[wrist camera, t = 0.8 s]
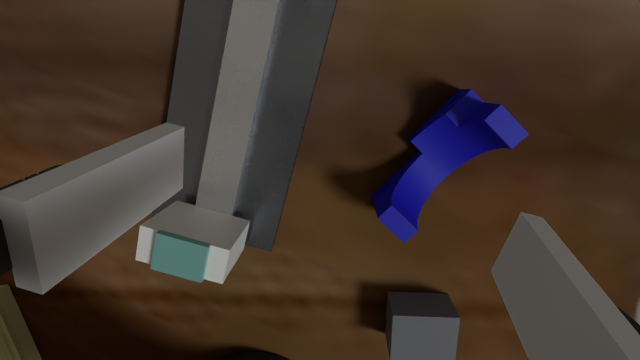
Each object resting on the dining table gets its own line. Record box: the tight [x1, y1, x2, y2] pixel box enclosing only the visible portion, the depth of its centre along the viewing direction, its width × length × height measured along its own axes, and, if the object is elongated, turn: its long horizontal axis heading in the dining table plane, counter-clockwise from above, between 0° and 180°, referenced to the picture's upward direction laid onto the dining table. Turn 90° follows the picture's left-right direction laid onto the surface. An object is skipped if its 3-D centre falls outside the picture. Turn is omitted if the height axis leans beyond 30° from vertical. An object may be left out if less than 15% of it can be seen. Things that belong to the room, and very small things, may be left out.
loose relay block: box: [385, 292, 460, 360], centre depth 34 cm, size 5×6×4 cm
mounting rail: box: [152, 0, 337, 251], centre depth 30 cm, size 26×12×2 cm, turn 165°
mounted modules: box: [135, 200, 250, 284], centre depth 26 cm, size 26×7×6 cm, turn 165°
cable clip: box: [372, 89, 528, 243], centre depth 29 cm, size 12×4×6 cm, turn 137°
